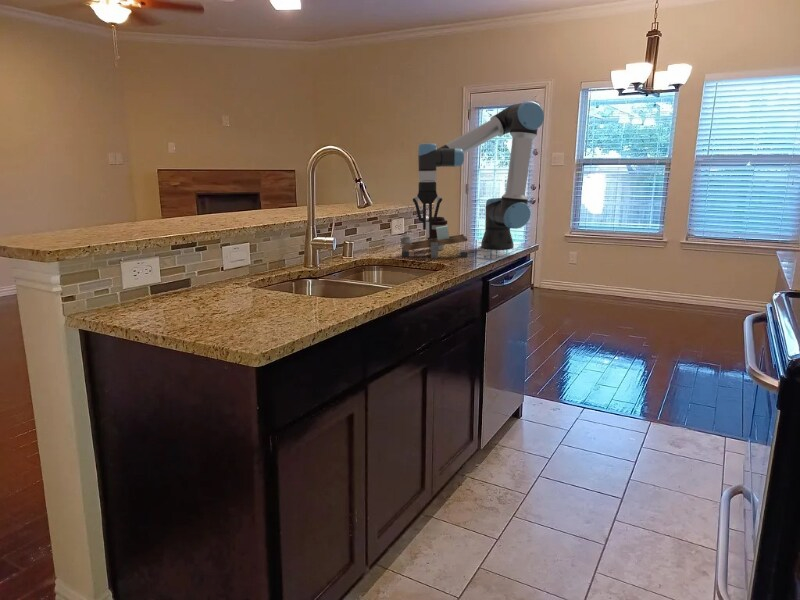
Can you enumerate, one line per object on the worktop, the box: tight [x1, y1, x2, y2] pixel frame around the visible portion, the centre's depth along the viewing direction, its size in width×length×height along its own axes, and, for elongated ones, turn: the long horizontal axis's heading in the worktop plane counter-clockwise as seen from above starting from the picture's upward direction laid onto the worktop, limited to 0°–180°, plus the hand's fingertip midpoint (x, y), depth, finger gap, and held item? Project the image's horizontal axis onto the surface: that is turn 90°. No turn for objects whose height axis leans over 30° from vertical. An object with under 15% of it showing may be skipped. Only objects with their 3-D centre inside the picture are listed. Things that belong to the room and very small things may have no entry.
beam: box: [400, 233, 468, 252], centre depth 241 cm, size 28×9×6 cm, turn 86°
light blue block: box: [436, 225, 450, 240], centre depth 241 cm, size 5×5×6 cm
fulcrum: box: [401, 242, 468, 259], centre depth 242 cm, size 28×12×7 cm, turn 87°
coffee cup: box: [426, 216, 448, 251], centre depth 261 cm, size 10×10×15 cm
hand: (427, 237), depth 242 cm, fingers closed
